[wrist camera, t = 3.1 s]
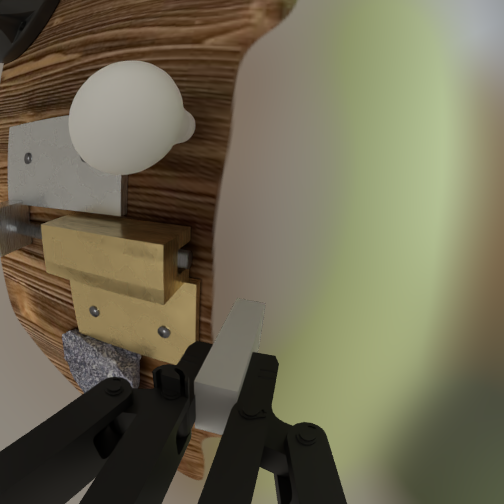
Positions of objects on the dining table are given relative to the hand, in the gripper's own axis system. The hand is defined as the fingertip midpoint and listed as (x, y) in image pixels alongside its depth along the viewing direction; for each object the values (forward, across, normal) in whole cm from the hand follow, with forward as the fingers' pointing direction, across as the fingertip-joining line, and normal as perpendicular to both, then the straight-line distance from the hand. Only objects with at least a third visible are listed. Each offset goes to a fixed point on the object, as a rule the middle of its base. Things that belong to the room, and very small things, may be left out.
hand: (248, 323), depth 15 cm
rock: (+8, -17, -16) cm, 24 cm away
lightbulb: (+8, -8, +10) cm, 15 cm away
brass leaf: (+8, -12, -4) cm, 15 cm away
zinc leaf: (+8, -18, +5) cm, 20 cm away
